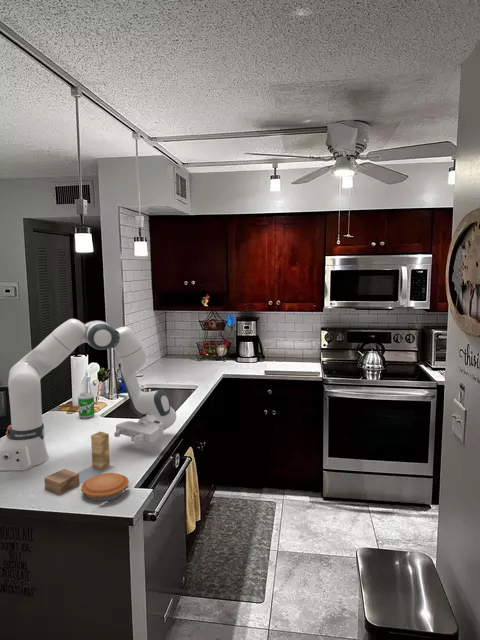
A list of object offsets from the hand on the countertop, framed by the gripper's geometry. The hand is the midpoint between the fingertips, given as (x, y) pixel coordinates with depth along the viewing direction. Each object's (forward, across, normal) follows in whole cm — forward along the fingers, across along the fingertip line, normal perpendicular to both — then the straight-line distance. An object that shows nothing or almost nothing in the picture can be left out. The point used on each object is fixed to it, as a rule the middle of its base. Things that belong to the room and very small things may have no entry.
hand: (123, 437), depth 180 cm
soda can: (-26, -52, +9) cm, 59 cm away
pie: (+24, +15, +9) cm, 30 cm away
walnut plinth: (+30, 0, +8) cm, 31 cm away
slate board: (+21, 0, +8) cm, 23 cm away
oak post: (+12, 0, +8) cm, 14 cm away
